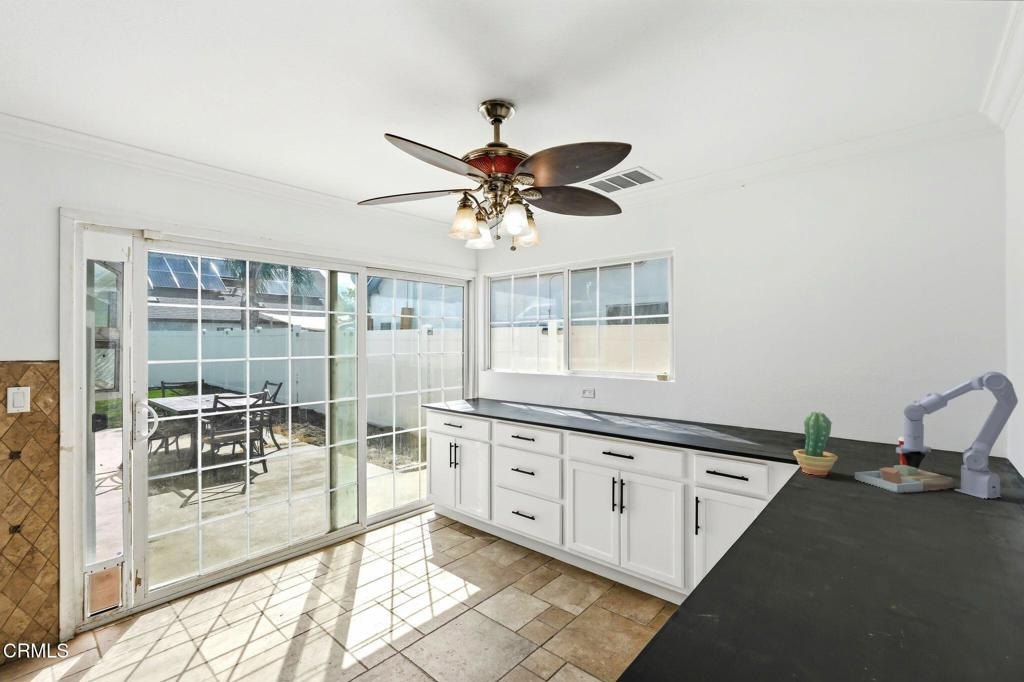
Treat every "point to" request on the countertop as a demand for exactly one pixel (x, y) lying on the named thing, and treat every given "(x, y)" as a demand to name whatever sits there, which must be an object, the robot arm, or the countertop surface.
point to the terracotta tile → (891, 475)
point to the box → (877, 480)
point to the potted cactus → (816, 445)
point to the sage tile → (906, 470)
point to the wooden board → (930, 480)
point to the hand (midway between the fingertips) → (913, 471)
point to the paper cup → (902, 459)
